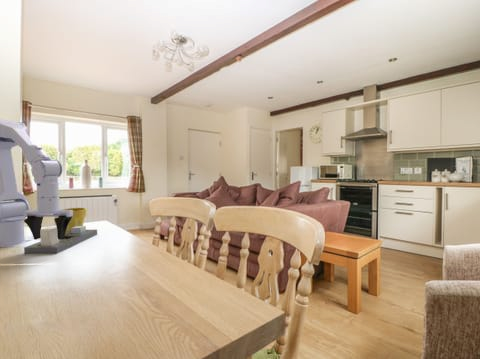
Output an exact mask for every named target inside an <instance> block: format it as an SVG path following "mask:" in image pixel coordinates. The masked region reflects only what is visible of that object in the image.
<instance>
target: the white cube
mask: <svg viewBox="0 0 480 359" xmlns="http://www.w3.org/2000/svg"><path fill="white" fill-rule="evenodd" d="M86 230H87V229H86V225H83V226H75V227H73V228H71V234H81V233H84V232H86Z"/></svg>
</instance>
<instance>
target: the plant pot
mask: <svg viewBox="0 0 480 359" xmlns="http://www.w3.org/2000/svg"><path fill="white" fill-rule="evenodd" d="M60 210H73V216H72V219H71V220H70V222H69V224H68V226H67V229H66V232H67V231H70V230H71V228H73V227H75V226H84V222H85V217H87V208H86V207H70V208H62V209H60Z"/></svg>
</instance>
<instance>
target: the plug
mask: <svg viewBox="0 0 480 359" xmlns="http://www.w3.org/2000/svg"><path fill="white" fill-rule="evenodd" d="M40 237H41V238H40V242H41V246H53V245H55V244H58V243H59V239H58V236H57V226H47V227H44V228H41V229H40Z"/></svg>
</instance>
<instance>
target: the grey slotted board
mask: <svg viewBox="0 0 480 359" xmlns="http://www.w3.org/2000/svg"><path fill="white" fill-rule="evenodd" d="M97 235H98V229H86V232H84V233H81V234H71V230H70V231H67V232H65V236H64V238H62V239H59V243H58V244H55V245H53V246H41V241H39V242H38V241H37V242H35V243H33V244H30V245H27V246H25V247H23V252H24V253H23V254H24V255H50V254H51V255H53V254H54V255H55V254H57V255H58V254H59V253H61V252H63V251H66V250H68V249H70V248H72V247H74V246H76V245H79V244H81V243H83V242H85V241H87V240H88V239H89V240H90V239H91V238H93V237H95V236H97Z"/></svg>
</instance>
